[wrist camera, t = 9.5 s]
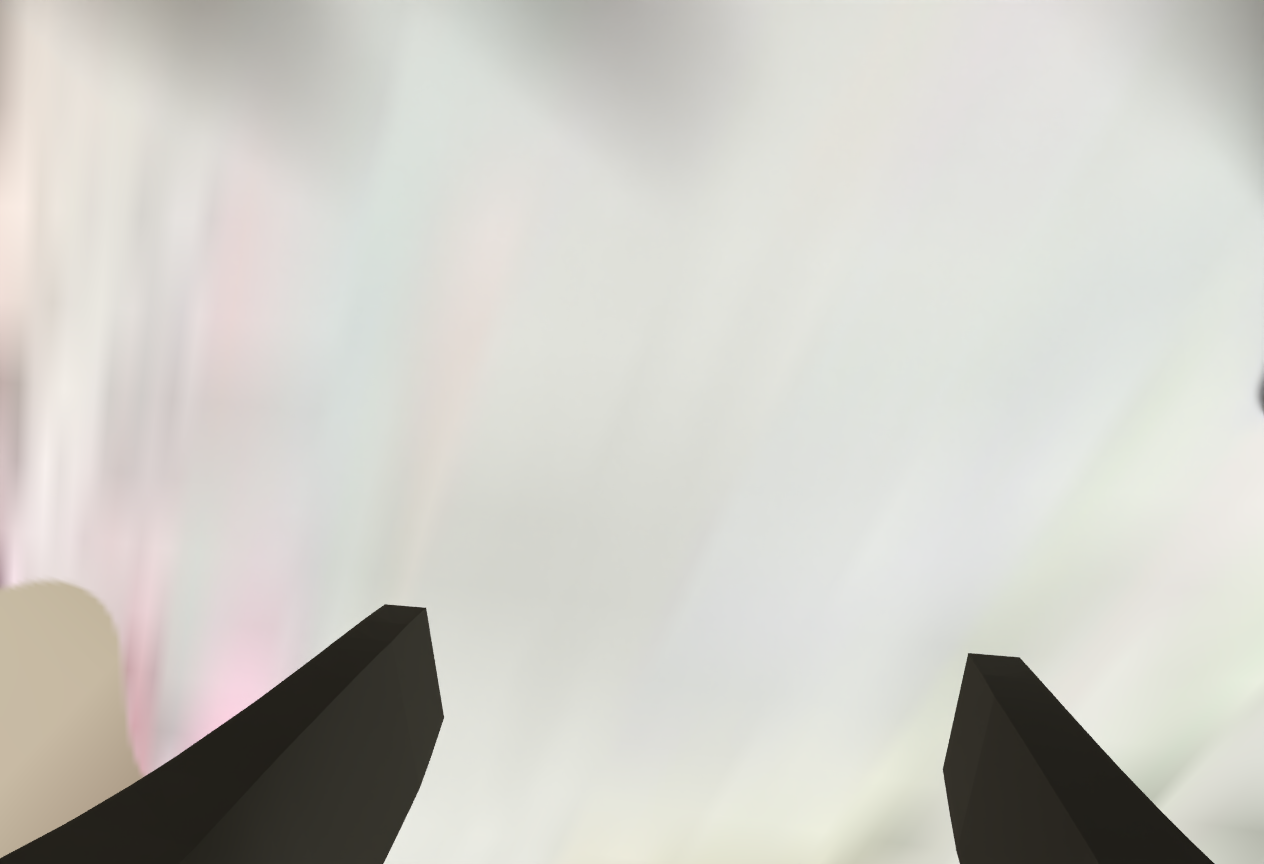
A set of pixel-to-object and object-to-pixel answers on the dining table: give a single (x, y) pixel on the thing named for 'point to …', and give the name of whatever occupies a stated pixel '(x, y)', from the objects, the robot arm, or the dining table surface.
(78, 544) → the dining table surface
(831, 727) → the dining table surface
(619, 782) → the dining table surface
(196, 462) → the dining table surface
